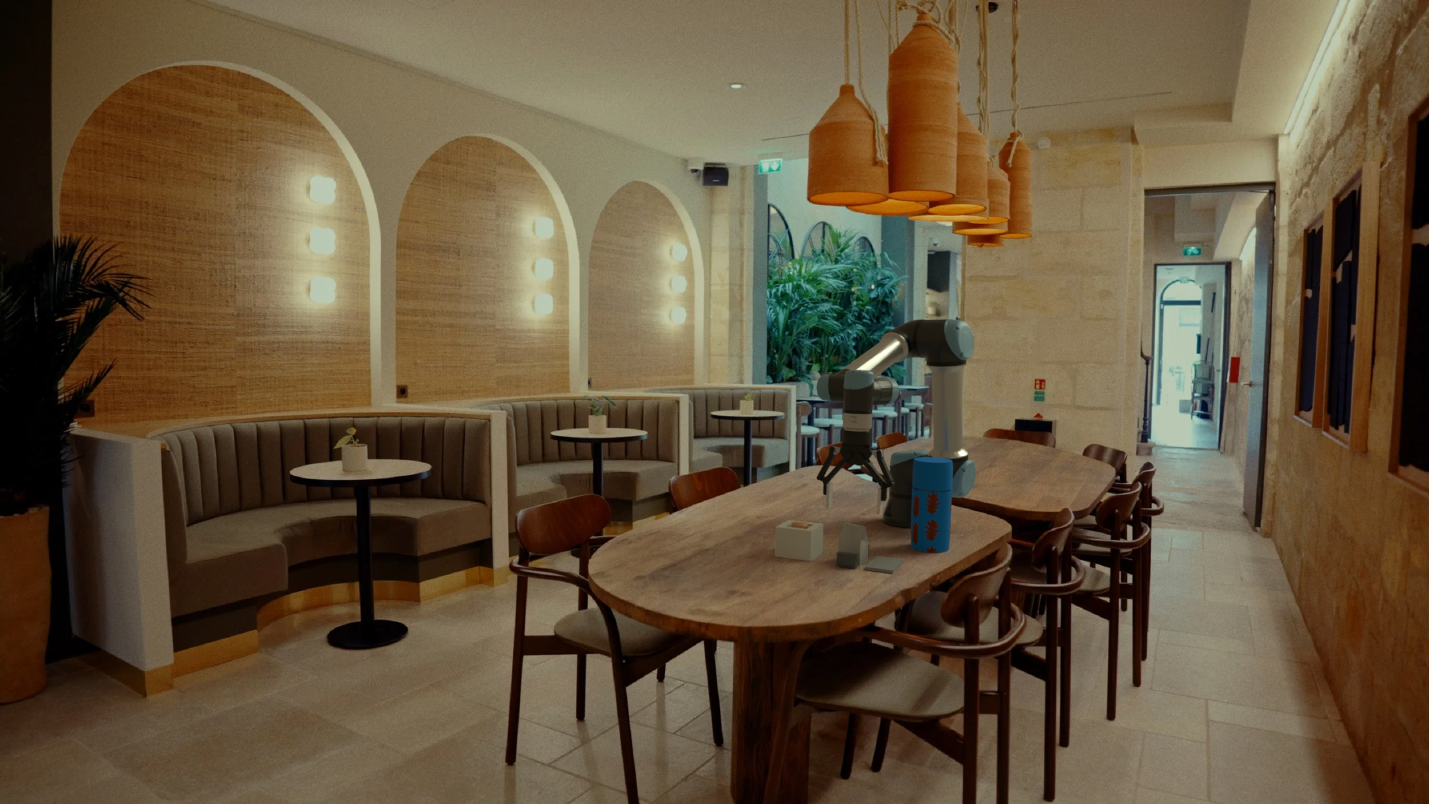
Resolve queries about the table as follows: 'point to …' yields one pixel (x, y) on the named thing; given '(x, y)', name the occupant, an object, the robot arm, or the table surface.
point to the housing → (799, 541)
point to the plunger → (800, 525)
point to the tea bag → (854, 541)
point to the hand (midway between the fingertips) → (853, 510)
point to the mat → (885, 564)
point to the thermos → (931, 504)
